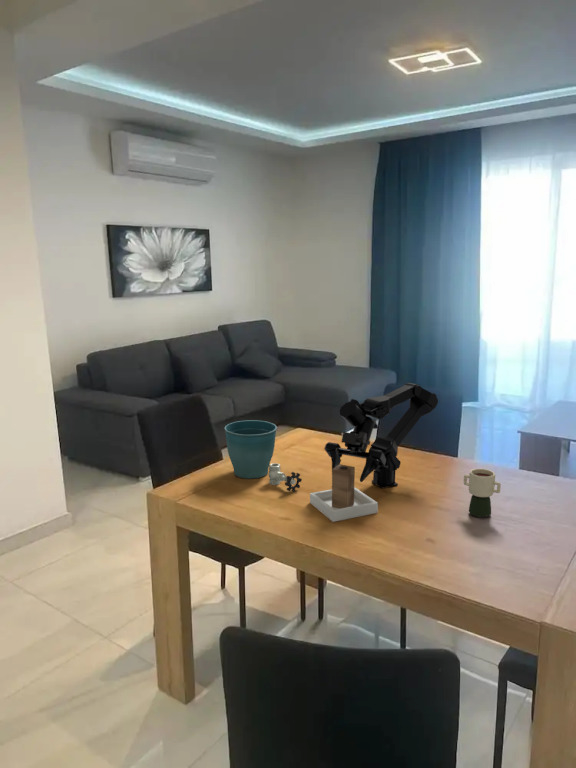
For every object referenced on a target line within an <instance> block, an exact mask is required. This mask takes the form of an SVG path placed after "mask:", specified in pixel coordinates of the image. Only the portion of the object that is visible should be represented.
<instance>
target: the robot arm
mask: <svg viewBox="0 0 576 768" xmlns="http://www.w3.org/2000/svg"><path fill="white" fill-rule="evenodd" d="M438 399H439V398H438V396H437V394H436V393H435V392H434V393H433V392H431V391H429V390H427V389H425V388H423V387H422V386H421V385H419V384H417V383H412V382H408V383H407V382H406V383H404V385H402V386H401V387H398V388H397V389H394V390H393V391H391V392H389V393H386V394H384V395H381V396H371V397H368V398H366V399H365V400H364V401H363V402H361V403H360V402H359V400H358V399H355V398H351V399H350V401H348V402H345V403H343V405H342V406H340V409H339V415H340V416H341V417H342V418H343V419H344V420H345V421H346V423H348V424H349V426H351V427H353V431H352V430H351V431H350V432H347V431H346V432H345V431H343V433H342V437H341V443H344V447H346V448H342V447H341V445H340V444H339V443H336V442H331V441H328V442H327V443H326V444H325V445H324V447H323V449H324V451H325V453H327V455H328V457H330V458H331V459H330V461H331V470H332V469H333V468H335V467H336V466H338V465H339V464H341V462H342V459H341V458H342V457H343V456H349V457H354V458H361V459H365V464H364V467H363V469H362V472H361V475H360V478H359V482H361V483H363V481H364V480H365V479H366V478H367V477H368V476H369V475H371V474H372V473H373V474H372V475H373V479H372V480H371V483H372V484H374V485H376V486H377V487H379V488H381V489H386V488H391V487H395V486H398V485H399V484H398V483H397V482H396V471H397V470H398V469H400V468H401V461H400V459H399V458H398V457H397V456H398V453H399V452H398V451H399V450H398V448H399V446H400V444H401V443H402V442H403V441H404V440H405V438H406V437H407V435H408V434H409V433H410V432H411V430H413V428H414V426H415V425H416V424H417V422H418V421H419V420H420V419H421V418H422V417H424V416H425V415H426V416H427V415H429V414H430V413H431V412H432V411H433V410H435V408H436V407H437V405H438V404H439V400H438ZM408 400H409V408H408V409H407V410H406V411H405V412H404V413H403V415H402V416H401V418H400V419H399V420H398V422H397V423H396V424H395V425H394V426H393V428H392V429H391V430H390V432H388V434H387V435H386V436H385V437H381V436H378V437H377V438H375V440H374V442H373V443H371V441H370V440H371V437H372V434H373V430H374V429H375V430H376V429H378V428H379V426H378V424H377V421H376V419H379V420H382V419H384V418H385V417H387V416H388V415H389V414H390V413H391V411H392V410H391V409H393V408H396V406H398V405H401V404H402V403H405V402H407V401H408ZM373 418H375V419H373ZM368 446H370V448H369V449H368V451H367V448H368Z"/></svg>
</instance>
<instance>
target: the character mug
mask: <svg viewBox="0 0 576 768" xmlns="http://www.w3.org/2000/svg"><path fill="white" fill-rule="evenodd" d="M463 485H464V486H468V492H469V494H471V497H470V502H469V506H468V507H469V508H468V512H469V514H470V515H472V516H474V517H478V518H484V517H489V516H490V515H492V504H491V503H492V502H491V497H493V496H494V495H493V494H494V493H495V494H500V493H501V489H502V487H501V486H502V485H501V482H499V481H496V472H494V471H493V470H490V469H487V468H486V469H485V468H472V469H470V471H469V474H464V475H463ZM495 486H497V487H495Z"/></svg>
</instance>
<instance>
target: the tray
mask: <svg viewBox="0 0 576 768" xmlns="http://www.w3.org/2000/svg"><path fill="white" fill-rule="evenodd" d="M309 504H311V505H312V507H313V506H314V507H315V509H317V510H318V511H319V512H321V513H322V514H323V515H324V516H325V517H326V518H327V519H329V520H330V521H331V522H332V523H334V522H338V521H345V520H350V519H353V518H358V517H363V516H368V515H373V514H377V513H379V511H378V510H379V502H377V501H376V500H374V499H373V498H371V497H370V496H368V495H367V494H366V493H364V492H362V491H361V490H359V489H358V488H357V487H355V486H354V505H353V506H351V507H346V508H341V509H339V508H334V507H332V488H331V489H326V490H320V491H315V492H310V493H309Z"/></svg>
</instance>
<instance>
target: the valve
mask: <svg viewBox="0 0 576 768" xmlns="http://www.w3.org/2000/svg"><path fill="white" fill-rule="evenodd" d="M290 473H291V475H290V476H289V475H287V476H286V474H285V472H283V471H282V472H281V464H280V463H276V462H275V463H274V462H273V463H270V464H269V467H268V478H269V480H268V482H269V485H270V486H271V485H272V486H279V485H280V484H281V482H283V481H284V486H286V487H287V488H286V491H288V492H290V491H291V492H293V493H295V492H296V489H300V488H301V485H300V484H299V483H301V482H302V481H303V479H302V478H300V476H301V473H299V472H294V471H292V472H290Z"/></svg>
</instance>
